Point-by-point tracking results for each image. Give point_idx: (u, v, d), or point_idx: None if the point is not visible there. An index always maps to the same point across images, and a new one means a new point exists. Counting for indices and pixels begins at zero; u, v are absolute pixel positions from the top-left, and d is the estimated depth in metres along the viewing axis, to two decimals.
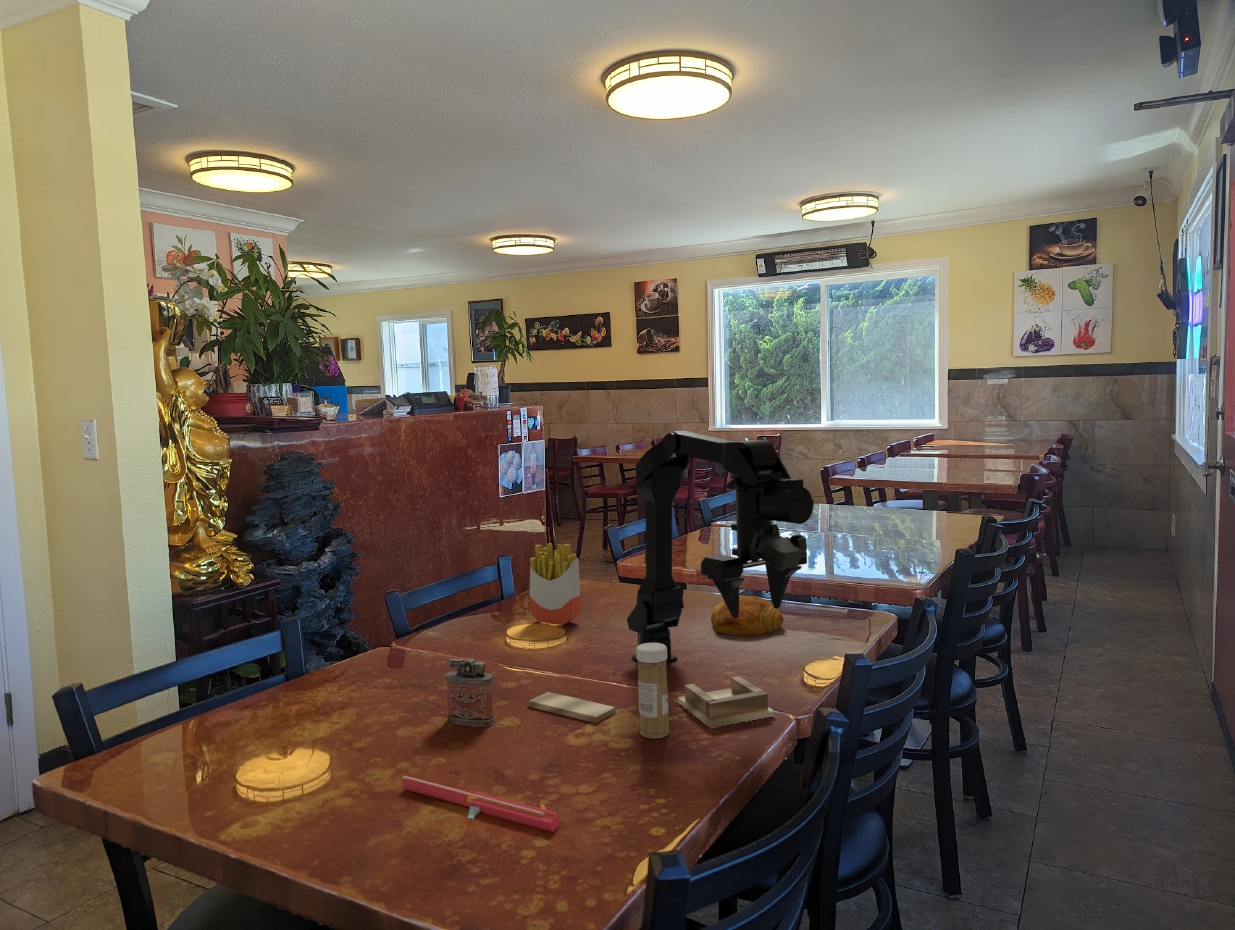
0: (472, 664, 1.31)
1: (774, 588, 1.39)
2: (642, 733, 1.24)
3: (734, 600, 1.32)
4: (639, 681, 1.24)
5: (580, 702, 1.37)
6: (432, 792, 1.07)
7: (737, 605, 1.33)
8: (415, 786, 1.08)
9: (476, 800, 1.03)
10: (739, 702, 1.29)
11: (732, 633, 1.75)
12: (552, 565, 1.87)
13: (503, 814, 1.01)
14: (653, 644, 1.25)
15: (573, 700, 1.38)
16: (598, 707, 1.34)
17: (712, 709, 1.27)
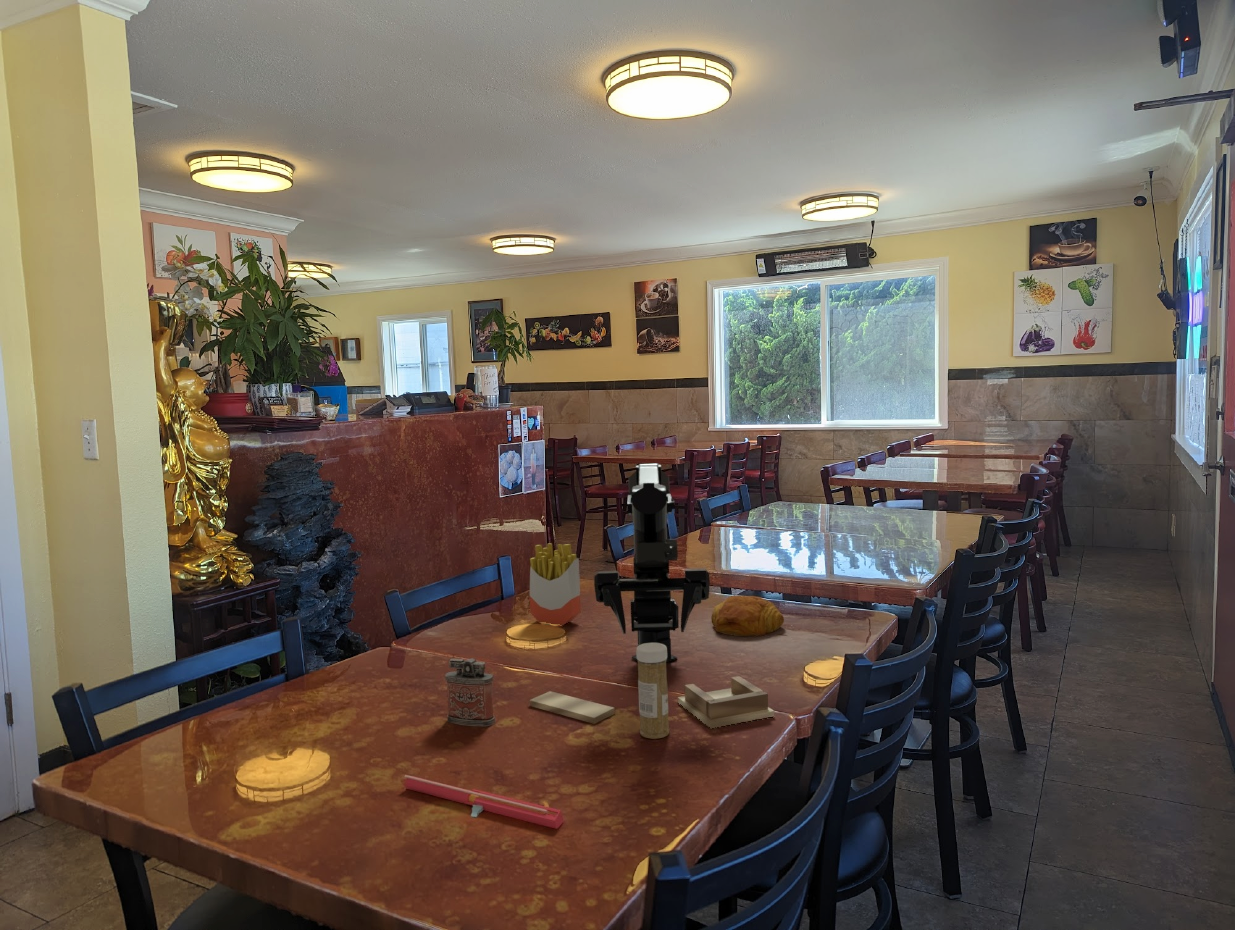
0: (472, 664, 1.31)
1: None
2: (642, 733, 1.24)
3: (617, 611, 1.34)
4: (639, 681, 1.24)
5: (580, 702, 1.37)
6: (435, 791, 1.07)
7: (622, 617, 1.33)
8: (417, 785, 1.09)
9: (479, 798, 1.04)
10: (739, 702, 1.29)
11: (732, 633, 1.75)
12: (552, 565, 1.87)
13: (506, 812, 1.02)
14: (653, 644, 1.25)
15: (573, 700, 1.38)
16: (597, 707, 1.34)
17: (712, 709, 1.27)
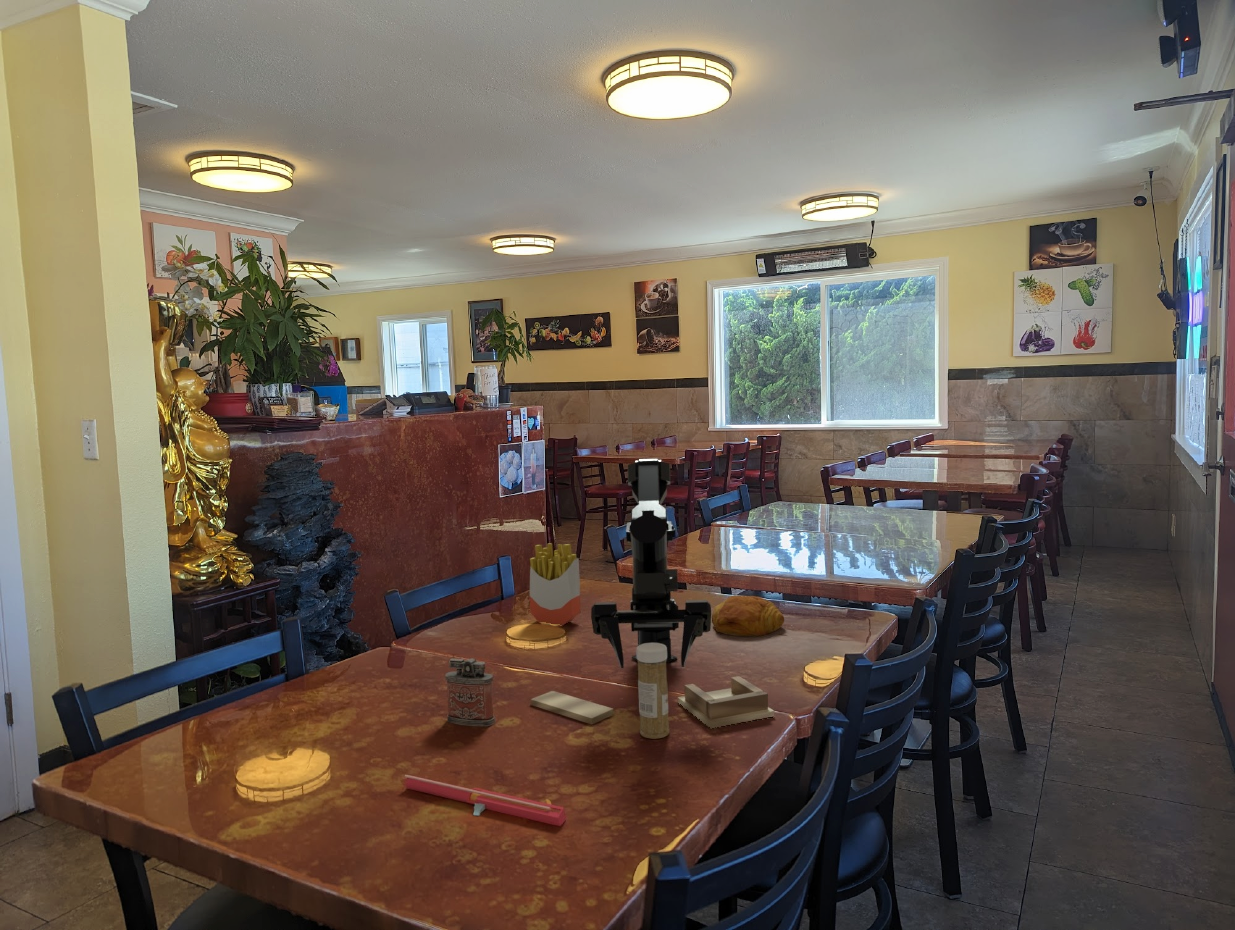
0: (472, 664, 1.31)
1: None
2: (642, 733, 1.24)
3: (615, 644, 1.28)
4: (639, 681, 1.24)
5: (580, 702, 1.37)
6: (436, 790, 1.07)
7: (619, 650, 1.28)
8: (417, 785, 1.09)
9: (481, 797, 1.04)
10: (739, 702, 1.29)
11: (733, 633, 1.75)
12: (552, 565, 1.87)
13: (509, 810, 1.02)
14: (653, 644, 1.25)
15: (574, 700, 1.38)
16: (596, 708, 1.34)
17: (712, 709, 1.27)
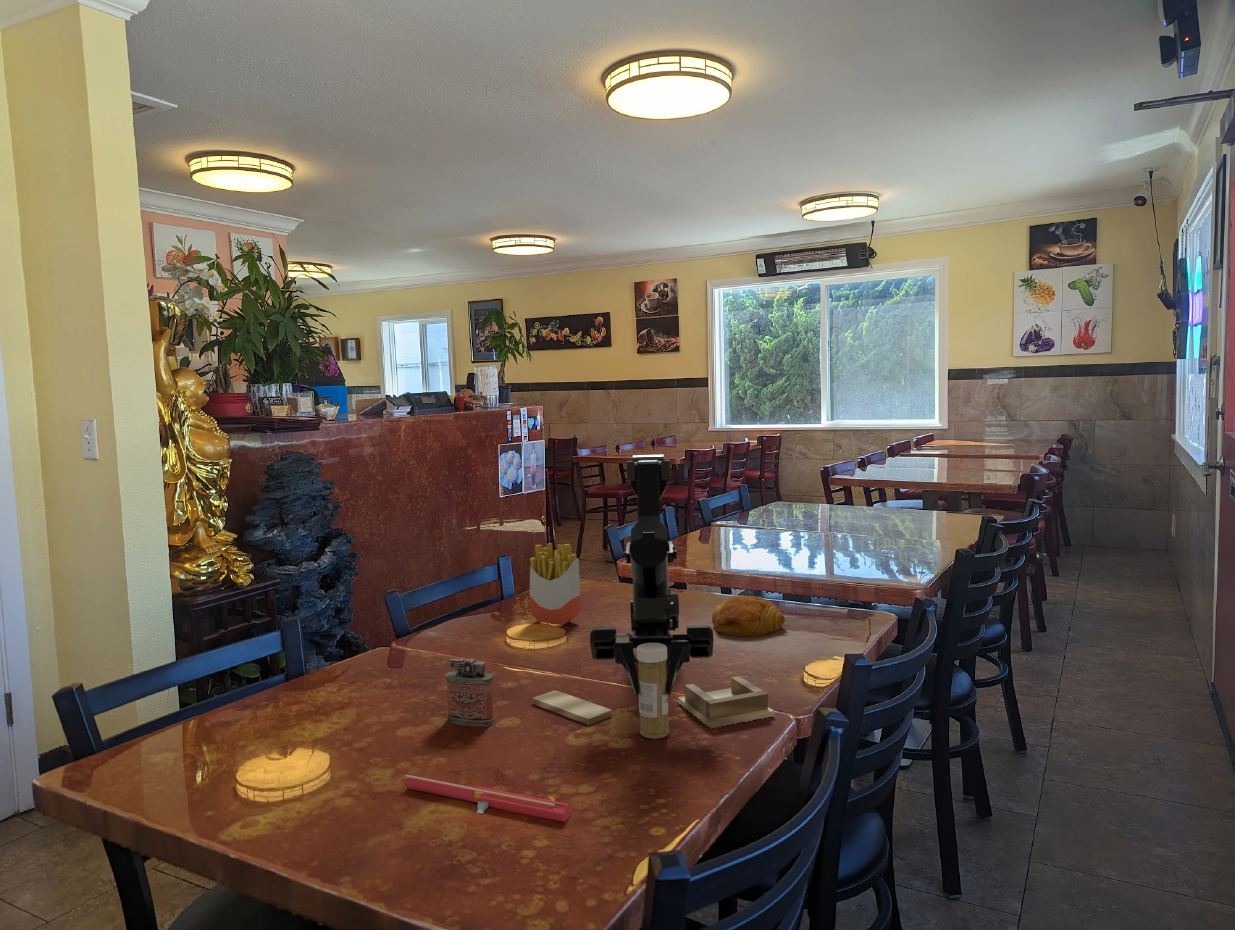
0: (472, 664, 1.31)
1: None
2: (642, 733, 1.24)
3: (629, 671, 1.25)
4: (639, 681, 1.24)
5: (580, 702, 1.36)
6: (437, 789, 1.07)
7: (634, 677, 1.24)
8: (419, 784, 1.09)
9: (484, 795, 1.05)
10: (739, 702, 1.29)
11: (733, 633, 1.75)
12: (552, 565, 1.87)
13: (512, 808, 1.03)
14: (653, 644, 1.25)
15: (575, 700, 1.38)
16: (595, 709, 1.33)
17: (712, 709, 1.27)
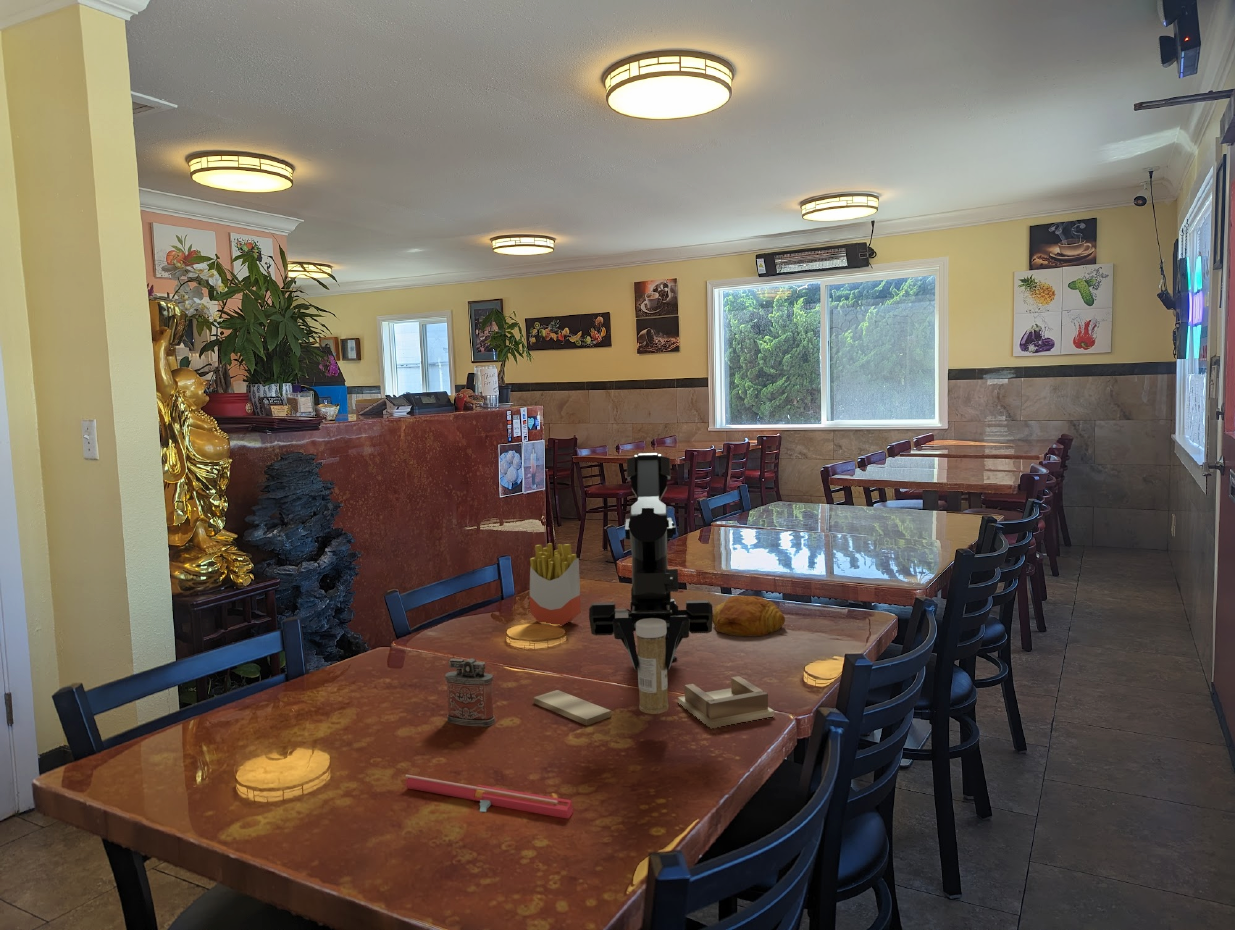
0: (472, 664, 1.31)
1: None
2: (641, 708, 1.24)
3: (629, 646, 1.24)
4: (638, 656, 1.23)
5: (580, 703, 1.36)
6: (439, 789, 1.08)
7: (633, 652, 1.24)
8: (419, 784, 1.09)
9: (486, 793, 1.05)
10: (739, 702, 1.29)
11: (733, 633, 1.75)
12: (552, 565, 1.87)
13: (515, 805, 1.03)
14: (652, 619, 1.25)
15: (575, 700, 1.38)
16: (594, 709, 1.33)
17: (712, 709, 1.27)
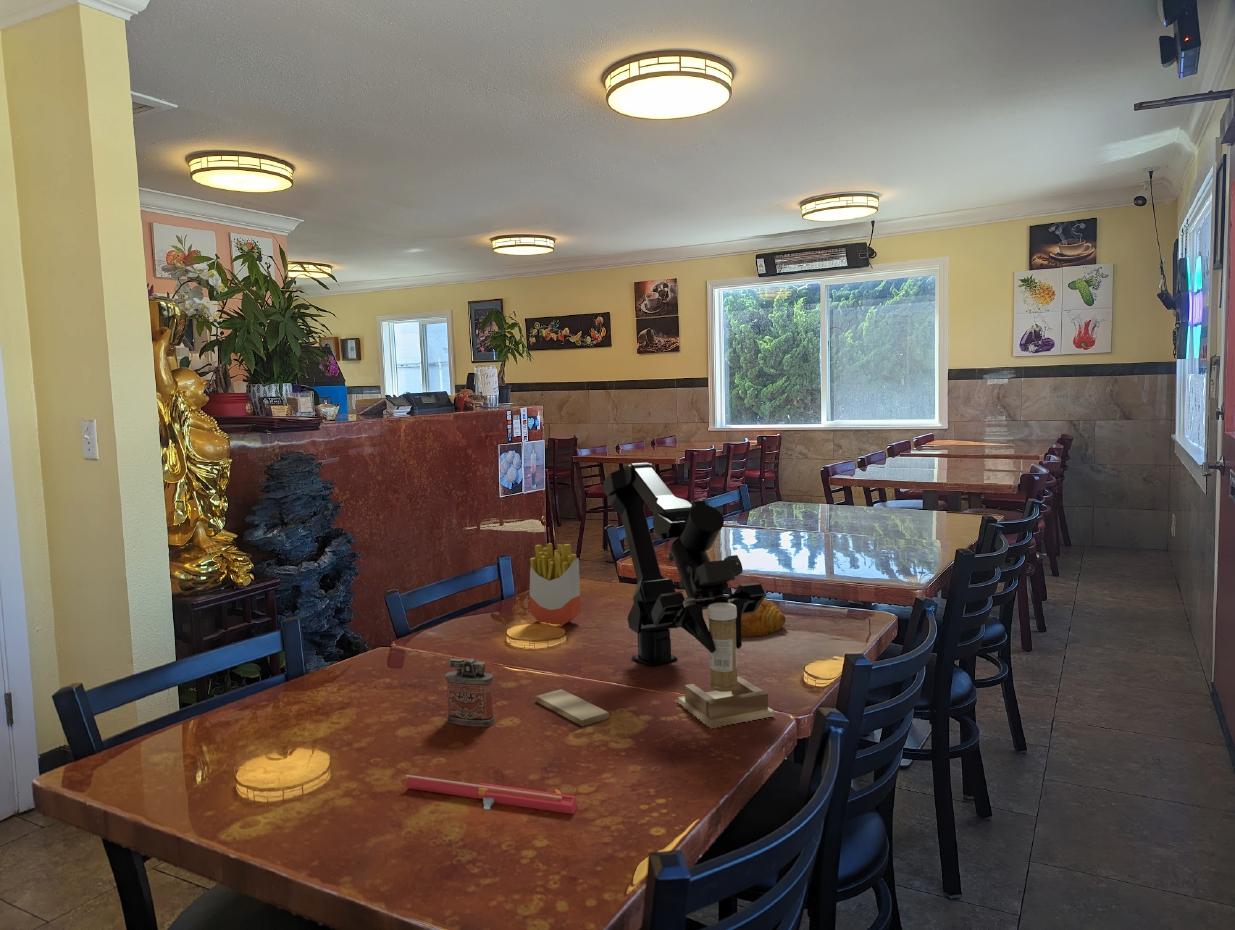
0: (472, 664, 1.31)
1: None
2: (717, 688, 1.32)
3: (703, 631, 1.32)
4: (714, 639, 1.31)
5: (580, 703, 1.36)
6: (440, 788, 1.08)
7: (708, 636, 1.32)
8: (420, 784, 1.09)
9: (489, 791, 1.05)
10: (739, 702, 1.29)
11: None
12: (552, 565, 1.87)
13: (519, 802, 1.04)
14: (721, 604, 1.33)
15: (576, 700, 1.37)
16: (592, 710, 1.33)
17: (712, 709, 1.27)
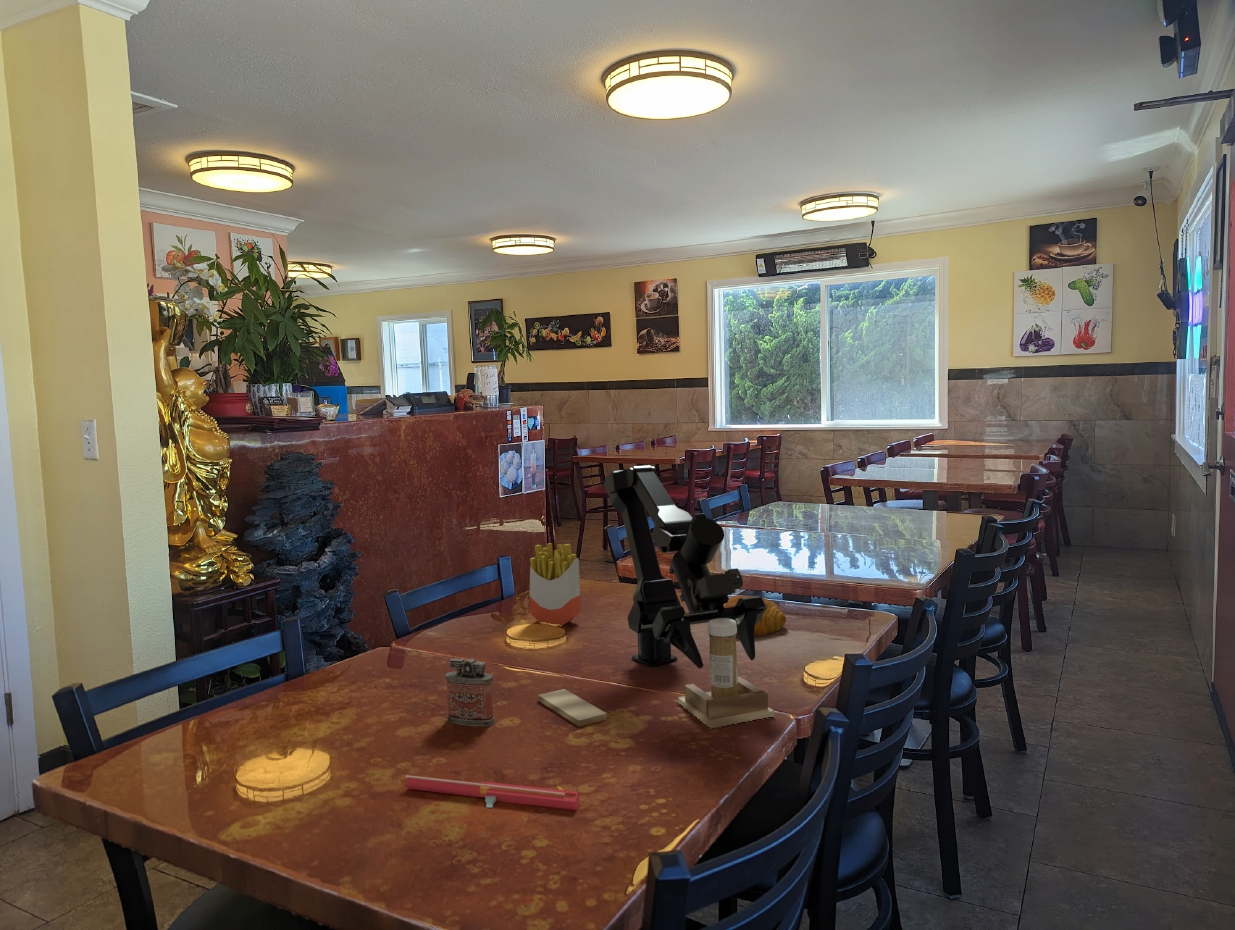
0: (472, 664, 1.31)
1: (745, 642, 1.36)
2: None
3: (690, 646, 1.31)
4: (714, 655, 1.32)
5: (580, 703, 1.36)
6: (441, 787, 1.08)
7: (696, 652, 1.31)
8: (420, 784, 1.09)
9: (491, 789, 1.06)
10: (739, 702, 1.29)
11: None
12: (552, 565, 1.87)
13: (522, 800, 1.05)
14: (721, 619, 1.34)
15: (576, 701, 1.37)
16: (591, 711, 1.33)
17: (712, 709, 1.27)
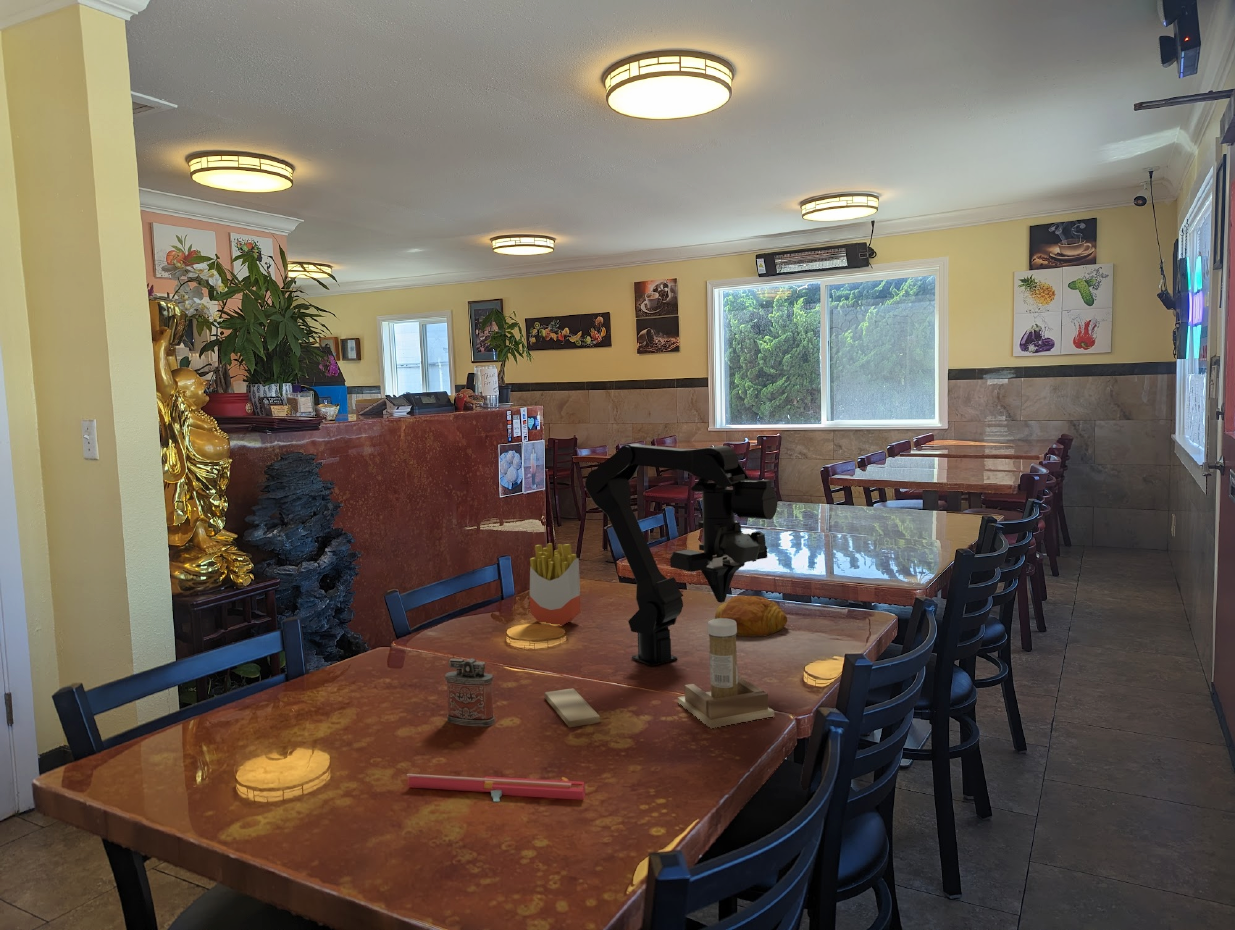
0: (472, 664, 1.31)
1: None
2: None
3: (719, 586, 1.49)
4: (714, 655, 1.32)
5: (580, 704, 1.36)
6: (445, 784, 1.09)
7: (722, 591, 1.50)
8: (423, 782, 1.09)
9: (497, 784, 1.07)
10: (739, 702, 1.29)
11: None
12: (552, 565, 1.87)
13: (528, 792, 1.06)
14: (721, 619, 1.34)
15: (578, 701, 1.37)
16: (586, 712, 1.32)
17: (712, 709, 1.27)
